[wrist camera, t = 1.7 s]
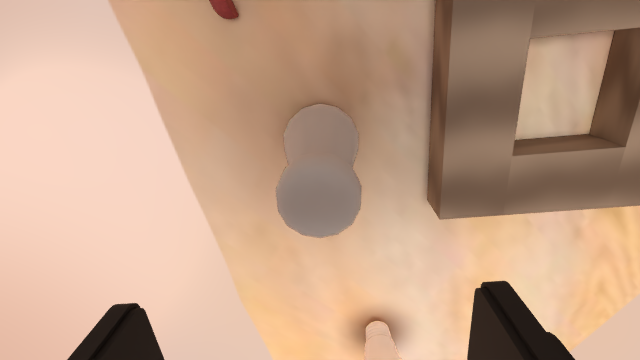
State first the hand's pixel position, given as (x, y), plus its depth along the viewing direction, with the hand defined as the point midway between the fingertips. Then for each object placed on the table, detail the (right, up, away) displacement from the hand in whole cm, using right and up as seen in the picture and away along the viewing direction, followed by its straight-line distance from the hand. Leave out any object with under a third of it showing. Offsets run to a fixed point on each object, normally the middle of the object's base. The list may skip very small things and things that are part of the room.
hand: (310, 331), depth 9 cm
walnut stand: (+18, +11, +16) cm, 27 cm away
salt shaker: (0, +8, +18) cm, 20 cm away
